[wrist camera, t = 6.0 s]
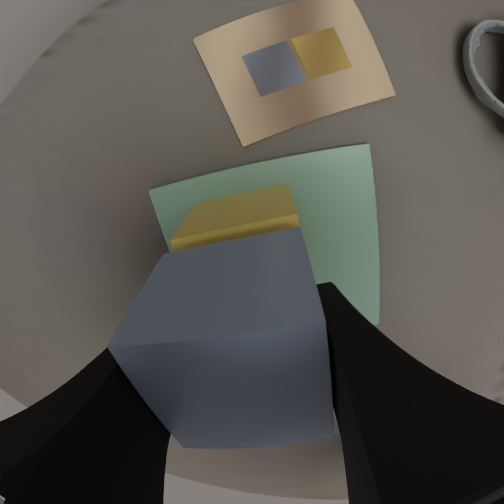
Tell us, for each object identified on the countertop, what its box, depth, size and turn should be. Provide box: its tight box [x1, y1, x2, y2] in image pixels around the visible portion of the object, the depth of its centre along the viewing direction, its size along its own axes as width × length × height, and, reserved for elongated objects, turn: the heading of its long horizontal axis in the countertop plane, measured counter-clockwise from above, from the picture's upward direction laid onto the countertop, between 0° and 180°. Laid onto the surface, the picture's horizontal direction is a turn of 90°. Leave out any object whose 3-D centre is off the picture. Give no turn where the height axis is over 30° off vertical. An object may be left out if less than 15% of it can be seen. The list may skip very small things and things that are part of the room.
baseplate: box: [149, 143, 380, 325], centre depth 16 cm, size 11×11×1 cm
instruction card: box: [192, 0, 396, 147], centre depth 12 cm, size 8×6×1 cm
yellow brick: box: [170, 183, 299, 251], centre depth 13 cm, size 4×4×4 cm
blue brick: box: [107, 226, 334, 448], centre depth 8 cm, size 4×4×4 cm
